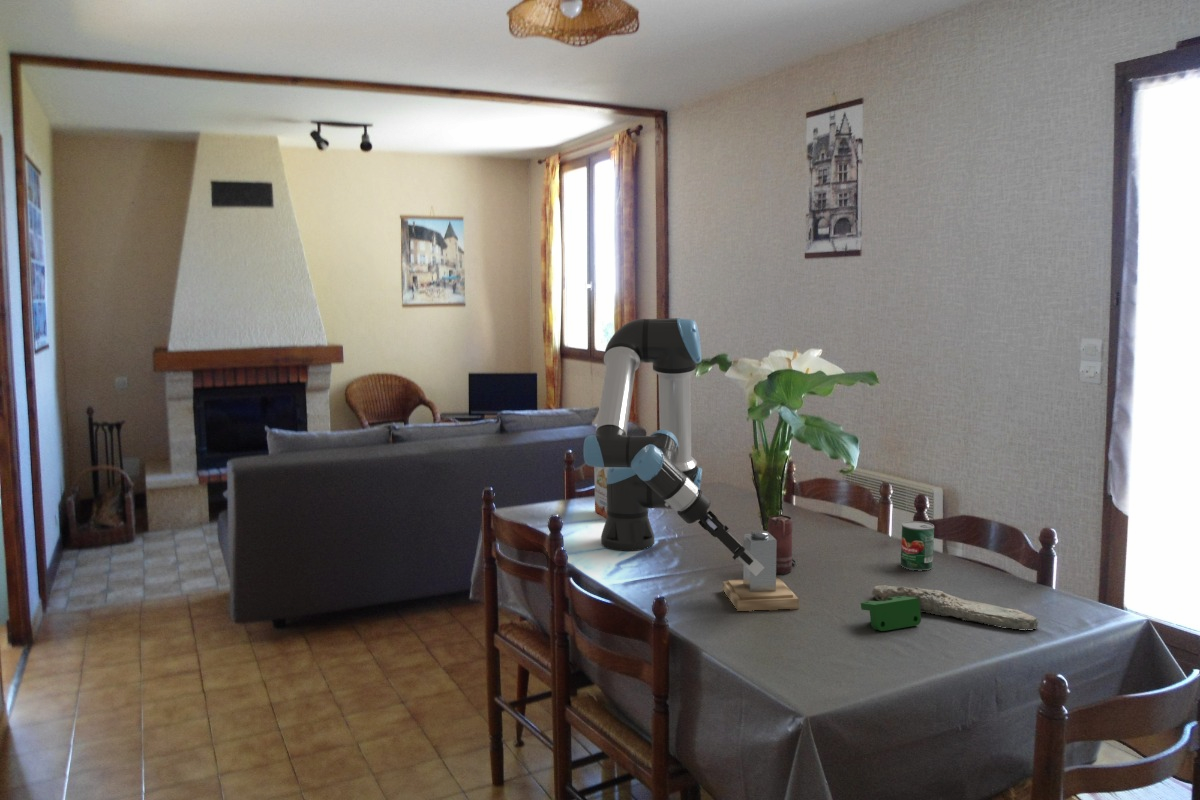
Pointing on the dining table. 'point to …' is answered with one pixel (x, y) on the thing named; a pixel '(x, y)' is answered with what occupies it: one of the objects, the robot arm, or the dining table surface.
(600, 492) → the cracker box
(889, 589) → the elongated rock
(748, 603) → the stand
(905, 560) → the canned tomato
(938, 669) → the dining table surface
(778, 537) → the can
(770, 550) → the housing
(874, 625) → the green plastic block
